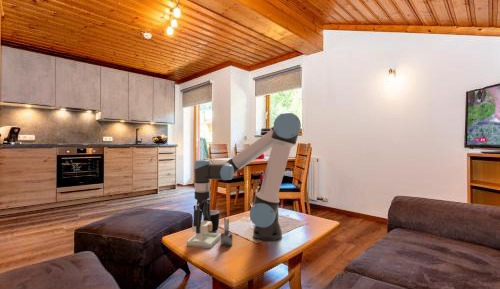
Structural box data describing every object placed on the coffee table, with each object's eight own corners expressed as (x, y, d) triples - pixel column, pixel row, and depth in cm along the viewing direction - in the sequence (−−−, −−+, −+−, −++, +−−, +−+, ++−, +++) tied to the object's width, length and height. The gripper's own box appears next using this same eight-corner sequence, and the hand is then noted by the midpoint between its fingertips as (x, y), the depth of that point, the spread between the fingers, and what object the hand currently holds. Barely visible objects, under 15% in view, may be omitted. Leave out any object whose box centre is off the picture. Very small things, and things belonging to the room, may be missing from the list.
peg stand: (234, 242, 122) (233, 216, 122) (230, 247, 117) (229, 220, 116) (223, 241, 123) (223, 215, 123) (219, 246, 118) (218, 219, 118)
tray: (221, 238, 128) (221, 233, 128) (210, 248, 116) (210, 243, 116) (199, 235, 131) (198, 231, 131) (186, 245, 119) (186, 241, 119)
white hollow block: (192, 231, 121) (192, 224, 121) (199, 226, 128) (199, 220, 128) (208, 233, 119) (208, 226, 119) (214, 228, 126) (214, 221, 126)
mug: (221, 231, 137) (221, 213, 136) (205, 234, 133) (204, 215, 133) (216, 224, 148) (216, 208, 148) (201, 226, 145) (201, 209, 144)
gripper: (204, 186, 134) (204, 228, 135) (185, 194, 115) (185, 243, 115) (217, 187, 132) (217, 229, 133) (199, 195, 113) (200, 245, 113)
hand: (202, 236), depth 124 cm, fingers closed on white hollow block, 7 cm apart
